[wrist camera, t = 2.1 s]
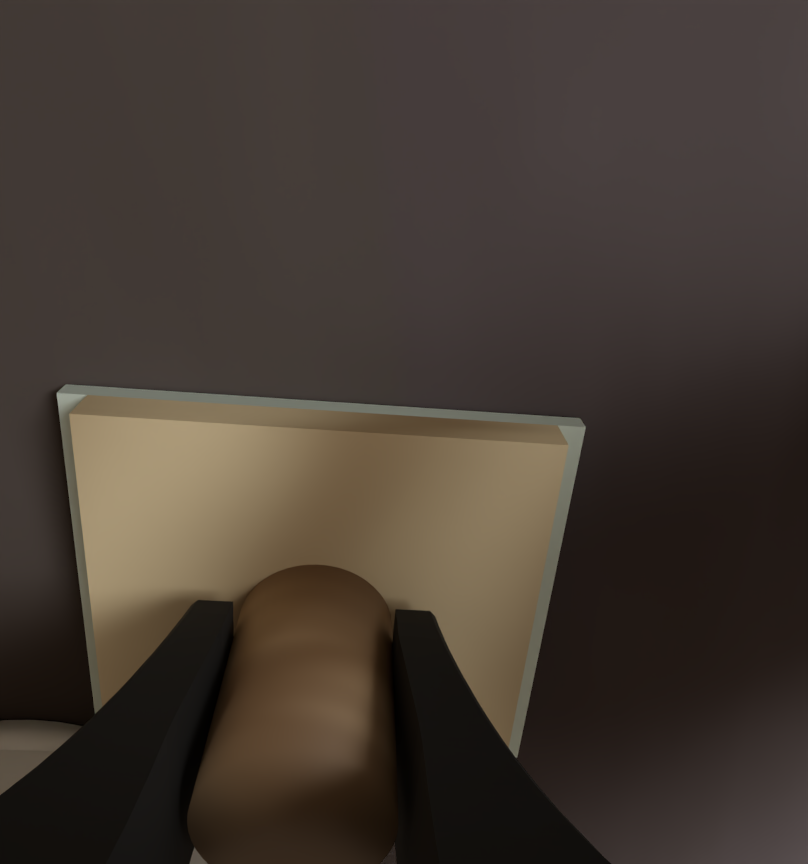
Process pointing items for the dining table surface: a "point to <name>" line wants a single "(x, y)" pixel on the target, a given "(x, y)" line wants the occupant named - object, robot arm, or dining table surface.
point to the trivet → (568, 426)
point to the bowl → (35, 751)
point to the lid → (311, 591)
